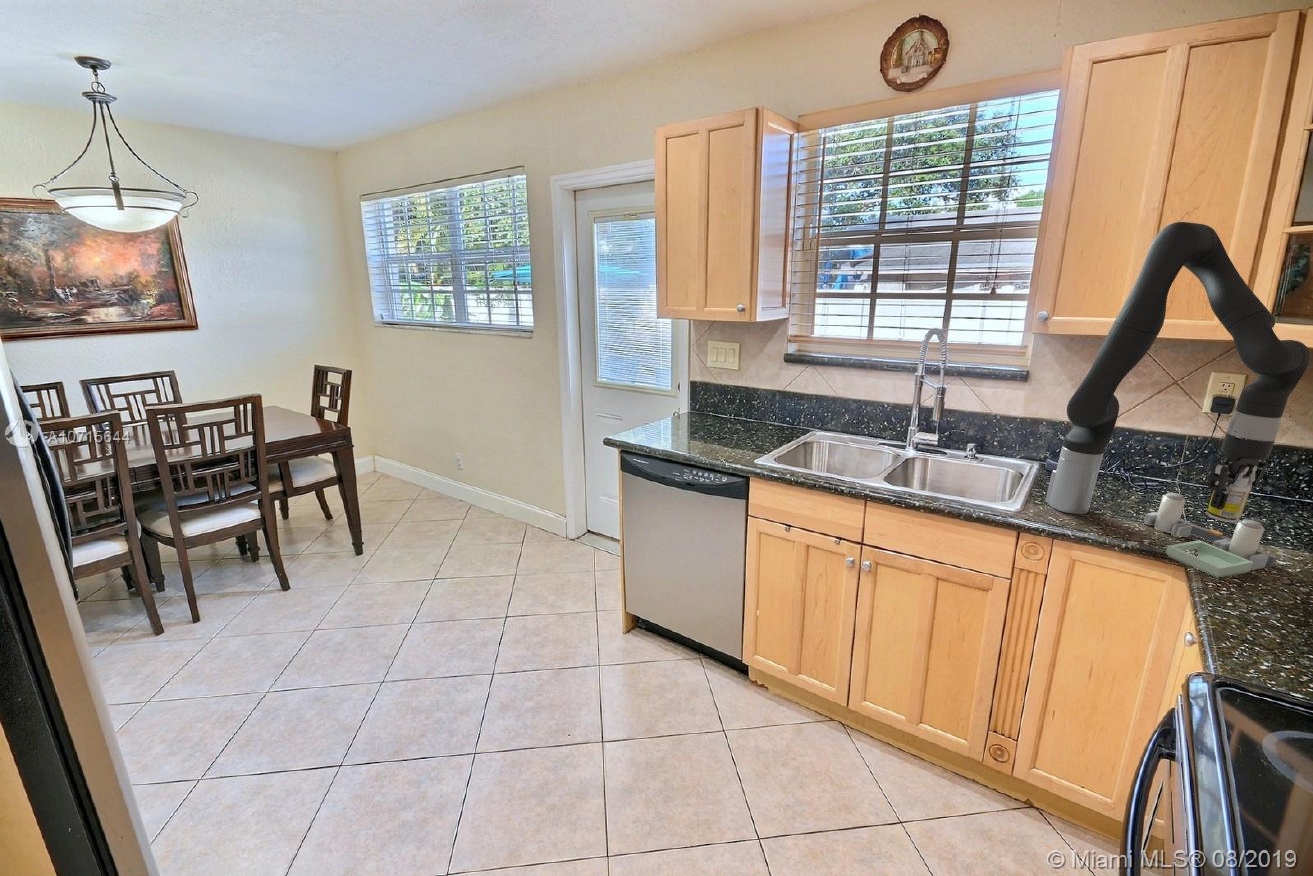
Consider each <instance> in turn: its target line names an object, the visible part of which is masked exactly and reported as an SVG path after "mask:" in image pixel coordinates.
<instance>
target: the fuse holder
mask: <svg viewBox="0 0 1313 876" xmlns="http://www.w3.org/2000/svg"><path fill="white" fill-rule="evenodd" d="M1157 514H1158V511H1155V512H1148V513H1145V515H1144V519H1143V522H1144V523H1145V524H1148V525H1150V524H1154V523H1155V520H1156V517H1157ZM1190 533H1191V534H1194V535H1196V536H1199V537H1202V538H1204V539H1205V540H1209V541H1211V542H1213V544H1211V545H1212V546H1215V547H1217V548H1220V549H1222V550H1225V551H1228V548H1229V545H1230V543H1231V540H1232V537H1231V538H1230V537H1228V536H1226V535H1224V533H1223V532H1220V531H1217V530H1215V529H1213V528H1212V529H1208V528H1204V527H1202V526H1199V525H1197V524H1194V523H1191V522H1189V521H1186V520H1184V519H1181V518H1180V520H1179V523H1178V524H1175V525H1173V528H1172V531H1171V534H1173V535H1175V536H1189V537H1190V536H1191V535H1190ZM1205 540H1204V541H1205ZM1278 558H1279V557H1278V556H1277V555H1274V554H1271V553H1270V552H1269V553H1268V552H1267V551H1264V550H1262V549H1258V548H1257V550H1256V553H1255V555H1252V556H1250V559H1249V561H1252V562H1253V565H1252V567H1251V570H1250V571H1255V570H1260V569H1264V568H1266V566H1267V567H1269V568H1271V567H1275V565H1276V563H1277V559H1278Z"/></svg>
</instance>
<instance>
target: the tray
mask: <svg viewBox="0 0 1313 876" xmlns="http://www.w3.org/2000/svg"><path fill="white" fill-rule="evenodd" d="M1212 545H1213V544H1210V543H1209V542H1208V543H1207V542H1206V541H1204V540H1201V539H1198V540H1193V541H1188V542H1187V541H1186V542H1182V543H1176V544H1171V545H1167V548H1166V550H1165V553H1167V555H1168V556H1167V557H1168V558H1170V559H1173V560H1174V561H1177V562H1179V563H1182V564H1183V565H1186V566H1187V567H1190V566H1192V567H1195V568H1198V569H1199V570H1200V571H1199V570H1198V571H1199V572H1201V571H1202V573H1203V572H1205V573H1207V574H1206V575H1208V576H1210V575H1211V576H1210V577H1212V576H1213V578H1214V577H1216V578H1215V579H1220V578H1219V577H1222V578H1227V577H1231V576H1237V575H1242V574H1247V573H1250V571H1252V570H1251V567H1252V565H1253V562H1252V561H1249V560H1247V559H1244V558H1242V557H1239V556H1237V555H1235V554H1232V553H1230V552H1227V551H1225V550H1222V549H1220V548H1217V547H1215V546H1212ZM1194 549H1199V551H1198V552H1196V553H1195V554H1198V556H1197V557H1196V556H1194V555H1192V554H1189V553H1187V552H1185V551H1186V550H1194ZM1192 567H1191V568H1192ZM1205 573H1204V574H1205ZM1226 576H1227V577H1226Z"/></svg>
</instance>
